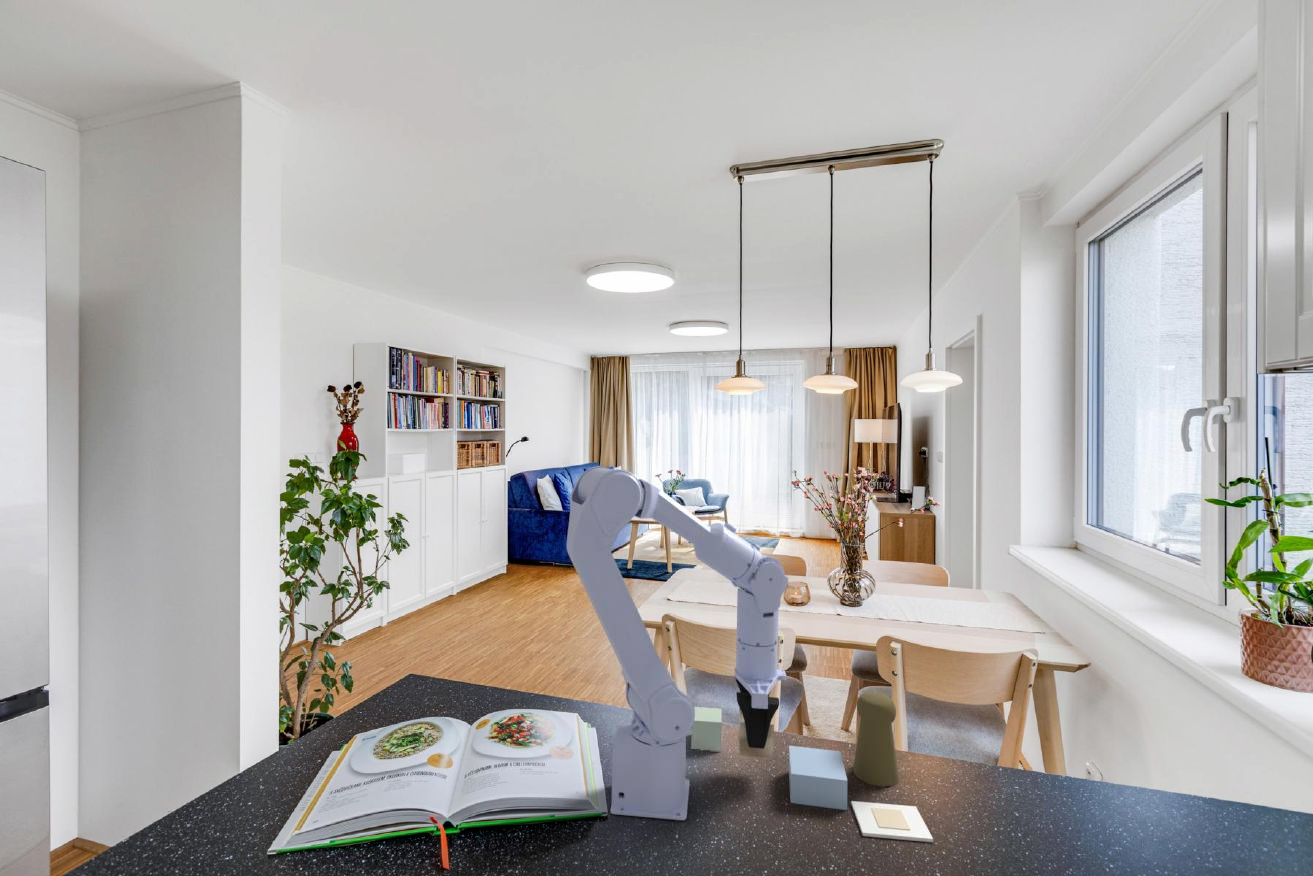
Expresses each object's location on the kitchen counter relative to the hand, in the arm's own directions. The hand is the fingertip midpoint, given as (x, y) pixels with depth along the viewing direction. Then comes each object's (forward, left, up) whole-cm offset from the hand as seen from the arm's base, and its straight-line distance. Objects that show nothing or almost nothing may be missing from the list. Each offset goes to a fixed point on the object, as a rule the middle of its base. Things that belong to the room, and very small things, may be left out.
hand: (755, 737), depth 79 cm
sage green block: (-7, +8, -6) cm, 12 cm away
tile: (+16, -7, -6) cm, 19 cm away
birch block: (0, 0, -2) cm, 2 cm away
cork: (+17, +3, -6) cm, 18 cm away
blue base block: (+8, -2, -6) cm, 10 cm away
